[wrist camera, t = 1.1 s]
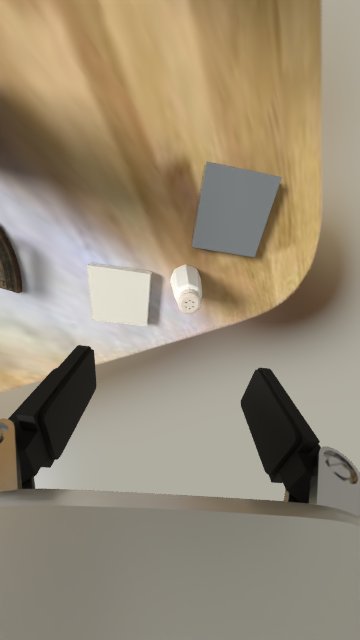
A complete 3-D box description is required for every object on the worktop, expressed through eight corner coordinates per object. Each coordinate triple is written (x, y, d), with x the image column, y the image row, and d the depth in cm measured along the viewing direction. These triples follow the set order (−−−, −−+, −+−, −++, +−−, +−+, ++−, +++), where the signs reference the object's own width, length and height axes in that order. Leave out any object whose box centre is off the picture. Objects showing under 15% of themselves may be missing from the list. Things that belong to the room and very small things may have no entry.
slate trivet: (204, 166, 23) (206, 161, 22) (274, 180, 24) (281, 177, 22) (191, 245, 28) (192, 247, 26) (249, 255, 29) (254, 257, 27)
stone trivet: (92, 262, 29) (86, 264, 27) (151, 271, 30) (150, 274, 28) (96, 315, 34) (92, 320, 32) (148, 321, 35) (146, 326, 33)
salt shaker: (169, 264, 29) (166, 283, 20) (201, 263, 29) (213, 282, 20) (170, 294, 32) (168, 324, 22) (200, 293, 32) (210, 323, 22)
